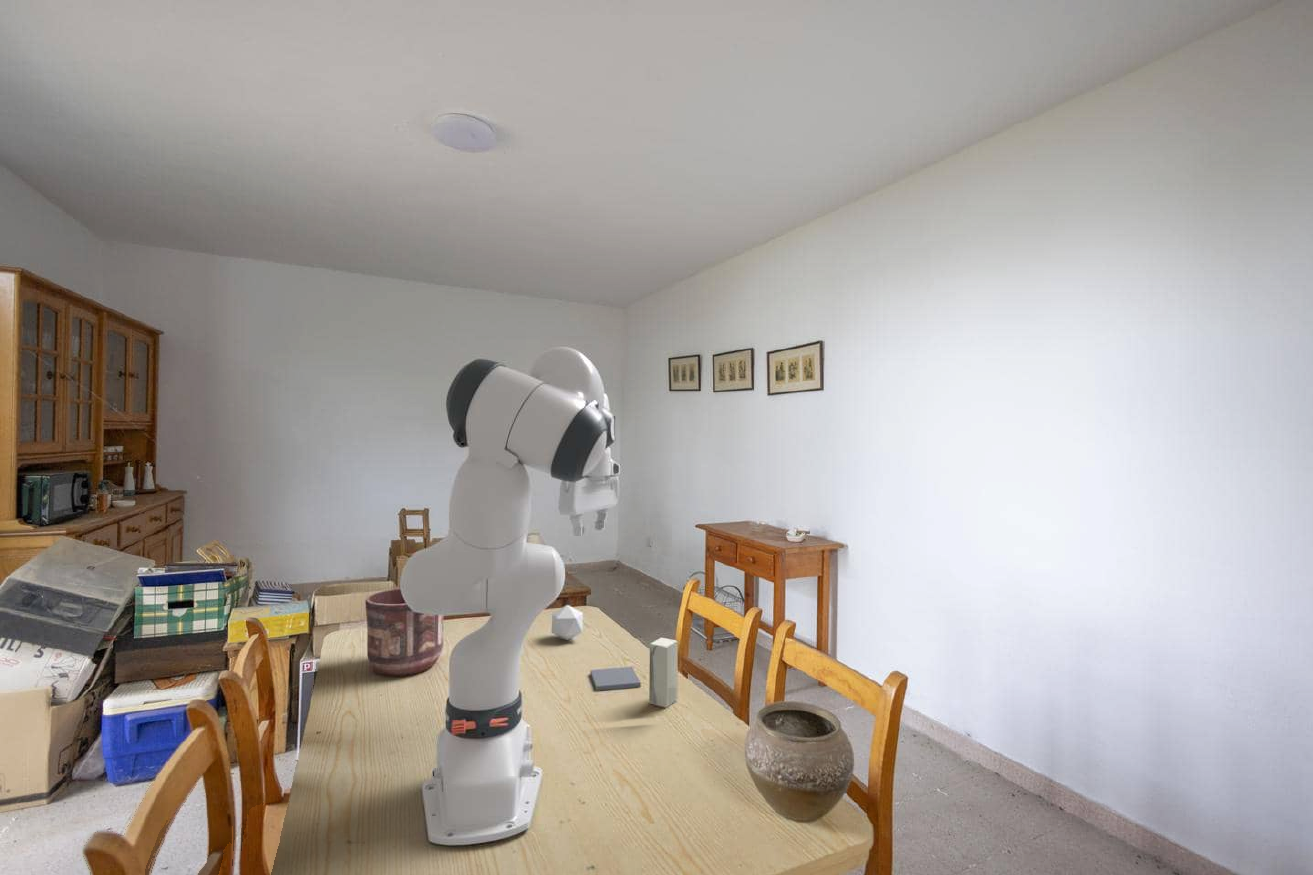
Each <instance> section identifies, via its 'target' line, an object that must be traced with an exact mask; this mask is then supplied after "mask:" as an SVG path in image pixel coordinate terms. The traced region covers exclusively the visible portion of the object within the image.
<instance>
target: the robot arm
mask: <svg viewBox="0 0 1313 875" xmlns="http://www.w3.org/2000/svg"><path fill="white" fill-rule="evenodd" d="M609 401H610V400H609V397H608V395H607V394H606V393H605V387H604V383H603V380H602V377H601V375H600V373H599V371H598V369H597V368H596V366H595V365H594V364H593V362H592V361H591V359H589V358H588V357H587V356H585V354H583V353H582V352H580V351H579V350H578V349H575V348H573V347H568V346H556V347H551V348H550V349H547V350H544V351H543V352H542V353H541V354H540V355H538V356H537V358H536V359H535V360H534V362H533V363H532V366H531V367H530V370H529V375H528V374H526V373H524V372H521V371H519V370H515V369H512V368H509V367H507V366H506V365H505V364H504V363H503V362H498V361H494V360H491V359H490V360H489V359H485V358H477V359H474V360H472V361H471V362H469V363H467V364H465V365H464V366H463V367H462V368H461V369H460V370H459V371H458V373H457V374H456V375H455V377H454V379H453V380H452V383H451V384H450V386H449V389H448V392H447V394H446V400H445V409H446V414H447V415H446V416H447V419H448V423H449V425H450V428H451V429H452V431H453V434H452V437H453V442H454V443H455V444H456V445H457V446H458V447H459V448H461V449H462V448H467V447H468V454H467V457H466V459H465V460H464V461H463V463H462V464H461V466H460V467H459V469H458V470H457V473H456V475H455V478H454V481H453V485H452V488H451V494H450V498H449V507H448V508H449V509H448V510H449V513H448V520H449V522H448V533H447V534H446V536H445V537H443V538H442V539H440V540H439V541H438V542H436V543H434V544H433V545H430V546H428V547H426V548H423V549H420V550H418V551H416V552H414V553H413V554H411V556H410V557H409V559H408V560H407V561H406V563H405V565H404V566H403V569H402V572H401V575H400V580H399V581H400V582H399V583H400V584H399V586H400V587H399V588H401V593H402V596H403V599H404V601H405V602H406V604H407V605H408V607H409V608H410V609H411V610H413V611H414V612H417V613H425V614H433V615H444V617H445V616H446V617H447V616H457V615H458V616H459V615H469V614H470V615H472V614H485V613H487V614H490V616H489V618H488V620H487V621H486V622H485V624H484V625H483V626H481V627H480V628H478V629H476V630H475V631H473V632H471V633H469V634H467V635H465V636H464V637H463V638H462V639H460V640H459V641H458V642H457V643H456V644H455V645H454V646H453V649H452V651H451V653H450V656H449V666H448V667H449V669H448V671H449V672H448V675H449V676H448V697H447V699H446V701H445V702H446V703H445V708H444V709H445V711H444V717H445V726H444V728H443V729H442V730H441V731H440V732H439V733H437V735H436V756H435V757H436V761H435V763H436V765H435V766H436V768H433V770H432V777H431V778H429V779H426V780H425V781H424V782H422V788H421V795H422V801H423V809H424V815H425V816H424V817H425V822H426V823H425V824H426V832H427V837H428V841H429V842H430V843H433V844H435V845H436V844H437V845H443V846H466V845H473V844H481V843H487V842H493V841H499V840H502V839H505V838H509V837H511V836H514V835H515V836H516V835H517V834H519V833H522V832H524V831H525V830H528V828H529V827H530V825H531V824H532V821H533V820H532V819H533V815H534V811H535V807H536V805H537V804H536V803H537V800H538V796H539V792H540V787H541V784H542V780H543V769H542V768H541V767H539V766H536V765H535V763H534V760H532V759H531V751H533V741H531V725H530V724H529V723H527V722H526V721H524V719H523V718H522V716H523V698H522V697H523V696H522V691H521V690H520V674H521V673H520V672H521V660H522V652H523V646H524V642H525V639H526V637H527V635H528V633H529V631H530V628H531V626H532V625H533V624H534V622H535V621H536V619H538V617H539V615H540V614H541V613H543V611H545V609H546V608H548V607H549V606H550V605H552V604H553V603H554V602H555V601H556V600H557V599H558V597H559V596H560V594H561V593H562V590H563V588H564V585H565V582H566V581H565V580H566V568H565V563H564V561H563V559H562V557H561V555H560V553H559V552H558V551H557V550H556V549H555V548H554V547H553V546H551V545H546V544H540V543H534V542H528V541H527V540H528V534H529V530H530V529H529V528H530V521H531V515H532V514H531V513H532V489H531V482H530V478H529V474H528V471H527V468H528V467H530V468H533V469H534V470H537V471H540V472H543V473H545V474H546V473H547V474H549V475H550V477H551V478H553V479H557V480H560V481H561V483H560V488H559V497H558V498H559V499H558V510H559V513H560V515H562V516H569V519H570V523H571V526H572V527H573V528H572V529H573V532H572V533H573V535H574V536H575V537H581V536H583V535H585V526H583V523H582V520H583V515H584V514H587V513H592V512H593V513H594V512H596V513H597V516H596V517H597V518H596V521H594V528H595V530H596V531H603V530H605V529H606V522H607V518H608V515H609V509H611V508H615V507H617V504H618V500H619V492H620V491H619V490H620V488H619V486H620V480H619V477H618V476H619V475H620V474H621V465H620V464H618V463H617V462H616V461H614V459H612V452H611V445H612V444H614V443H615V441H616V416H615V415H614V413H612V412H611V408H610V402H609Z"/></svg>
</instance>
